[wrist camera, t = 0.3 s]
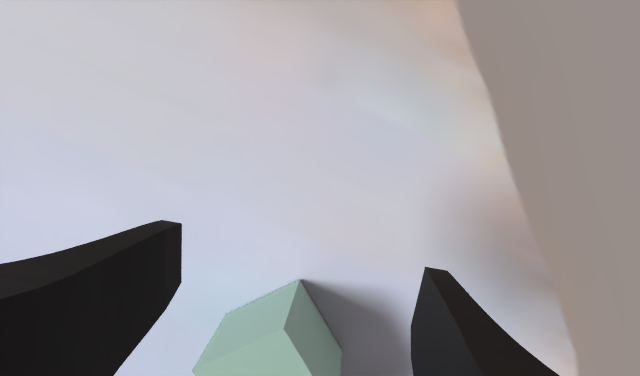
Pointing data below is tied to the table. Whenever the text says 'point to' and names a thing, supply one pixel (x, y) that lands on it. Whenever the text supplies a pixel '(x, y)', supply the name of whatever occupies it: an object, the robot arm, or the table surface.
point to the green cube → (273, 339)
